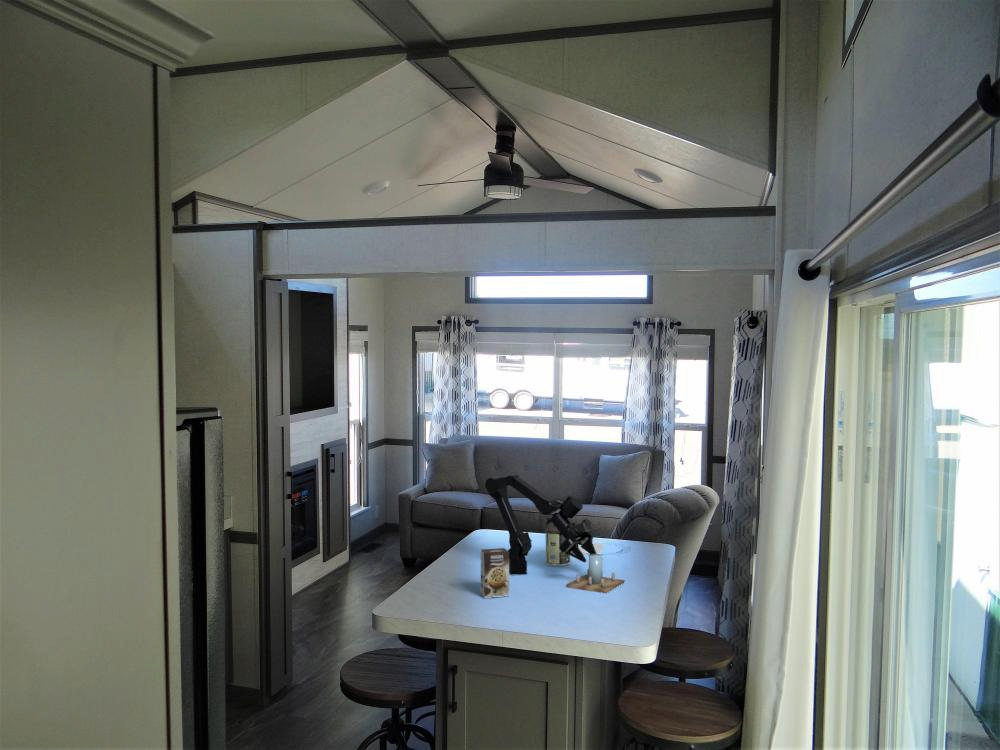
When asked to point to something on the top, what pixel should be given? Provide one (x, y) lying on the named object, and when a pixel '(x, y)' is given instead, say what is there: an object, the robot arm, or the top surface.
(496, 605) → the top surface
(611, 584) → the dish rack
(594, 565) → the grey dome-topped cylinder
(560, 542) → the coffee can
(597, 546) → the plate
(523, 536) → the robot arm
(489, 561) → the brown food box
